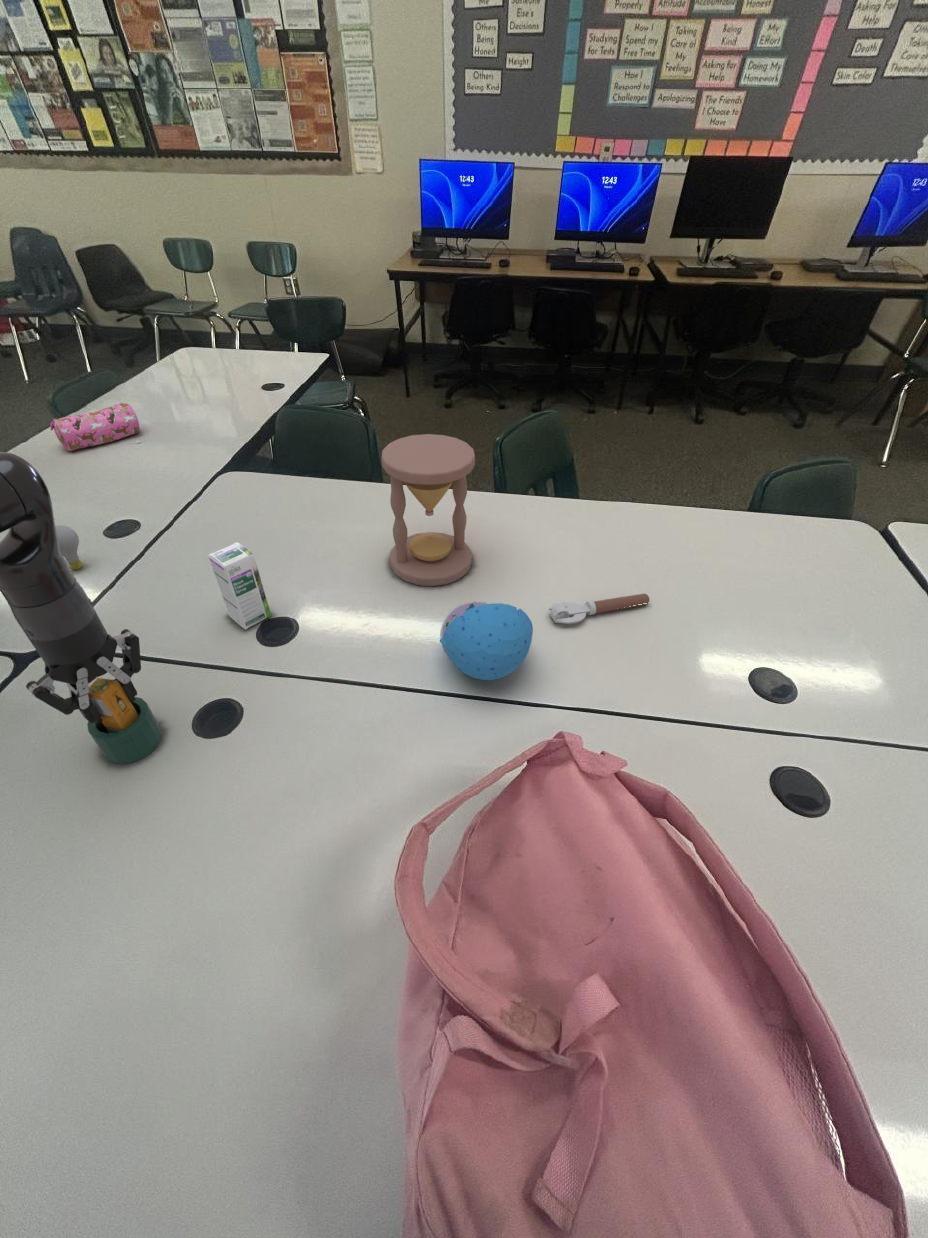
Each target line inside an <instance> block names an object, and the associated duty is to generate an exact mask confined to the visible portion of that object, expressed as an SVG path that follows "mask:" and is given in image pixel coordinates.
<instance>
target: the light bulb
mask: <svg viewBox="0 0 928 1238" xmlns="http://www.w3.org/2000/svg"><path fill="white" fill-rule="evenodd" d="M55 528H56V533H57V538H58V543H59V548H60V552H61V554H62V555H63V557H64V559H65V561H66V563H67V564H68V566H69V568H70V569H72V570H79V569H81V568H82V567H83V563H82V561H81V558H80V556H79V555H78V547H79V545H80V544H79V543H80V538H79V536H78V533H77V532H76V531H75V530H74V529H73V528H72V527H70V526H66V525H61V524H60V525H55Z"/></svg>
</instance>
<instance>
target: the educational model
mask: <svg viewBox="0 0 928 1238" xmlns="http://www.w3.org/2000/svg"><path fill="white" fill-rule="evenodd" d="M448 612H449V613H448V614H447V615H446V616H445V618H444V620H443V622H442V624H441V627H440V631H439V632H440V633H439V642H440V644H441V647H442V649H443V652H444V653H445V654H446V656H447V657H448V659H449V660H450V661H451V663H453V665H454V666H455V667H456V668H457V669H458V670H459V671H461V672H462V674H464V675H466V676H468V677H470V678H474V679H477V680H481V681H494V680H499V679H502V678H505V677H506V676H509V675H511V674H512V673H515V671H516V670H518V668H520V666H521V665H522V663H524V661H525V660H526V658H527V656H528V654H529V651H530V648H531V645H532V640H533V634H534V627H533V622H532V620H531V619H530V617H529V615H528V614H527V613H526V612H525V611H524V610H523V609H522V608H518V607H517V606H514V605H511V604H509V603H508V604H507V603H502V602H501V603H500V602H499V603H498V602H497V603H488V602H485V601H471V602H466V603H463V604H460V605H459V606H457V607H455V608H450V609H449V610H448Z"/></svg>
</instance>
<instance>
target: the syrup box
mask: <svg viewBox="0 0 928 1238" xmlns="http://www.w3.org/2000/svg"><path fill="white" fill-rule="evenodd" d="M207 557H208V559H209V563H210V566H211V569H212V571H213V573H214V577H215V579H216V583H217V585H218V589H219V591H220V593H221V597H222V600H223V602H224V604H225V608H226V611H227V613H228V617H230V618H231V620H233V621H234V622H235V623H236V624H237V625H238V626H240V627H241V628H242V629H243V630H248V629H249V628H250V627H253V626H254V625H257V624H259V623H260V622H262V621H264V620H266V619H267V618H270V617H272V613H271V610H270V606H269V603H268V599H267V596H266V593H265V588H264V585H263V583H262V579H261V575H260V571H259V568H258V564H257V561H256V557H255V554H254V553H253V552H252V551H251V550H250V549H248V548H247V547H246V546H245V545H242V544H241V543H239V542H238V541H236V542H234V543H233V544H230V545H228V546H226V547H223V548H221V549H219V550H216V551H213V552H211V553H209V554H208V555H207Z"/></svg>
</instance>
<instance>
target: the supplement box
mask: <svg viewBox="0 0 928 1238" xmlns="http://www.w3.org/2000/svg"><path fill="white" fill-rule="evenodd" d="M89 692H90V693H89V694H88V696H89V702H90V703H92V704H93V706H94V707H95V709H96V710H97V712H98V713H99V715H100V717H101V718H102V720H103V721H102V723H103V725H104V726H105V727H106V729H107V730H108V732H109V733H116V732H119V731H121V730H124V729H126V728H128V727H129V726H131V725H132V724H134V722H135V721H136V720H137V719H138V718H139V715H138V714H137V712H136V710H135V709H134V707H133V705H132V704H131V702H130V700H129V699H128V697H127V695H126V694H125V692H124V690H123V689H122V687H121V685H120V683H119V682H118V680H114V679H110V678H103V677H97V678H95V679H94V680H93V682H92V683H91V684H90V685H89Z"/></svg>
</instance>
